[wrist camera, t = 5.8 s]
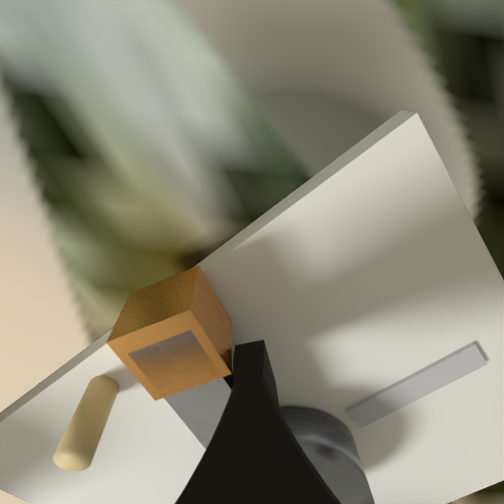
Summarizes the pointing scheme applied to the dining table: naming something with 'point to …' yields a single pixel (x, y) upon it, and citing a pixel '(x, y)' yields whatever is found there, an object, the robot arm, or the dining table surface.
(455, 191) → the board
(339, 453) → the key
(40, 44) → the dining table surface
